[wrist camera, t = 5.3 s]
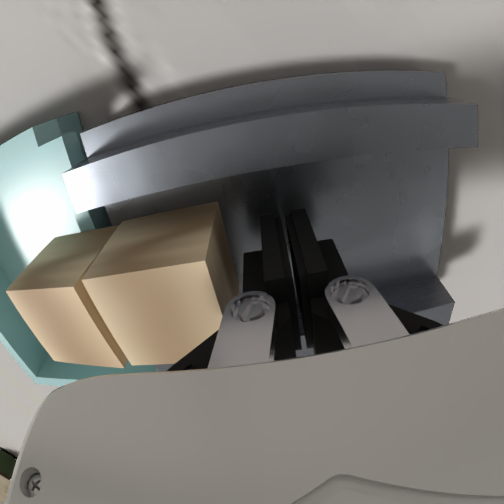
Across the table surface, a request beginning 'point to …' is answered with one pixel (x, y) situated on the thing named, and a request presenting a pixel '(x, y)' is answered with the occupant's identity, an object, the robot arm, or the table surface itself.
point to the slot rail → (299, 170)
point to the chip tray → (41, 235)
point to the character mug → (5, 473)
